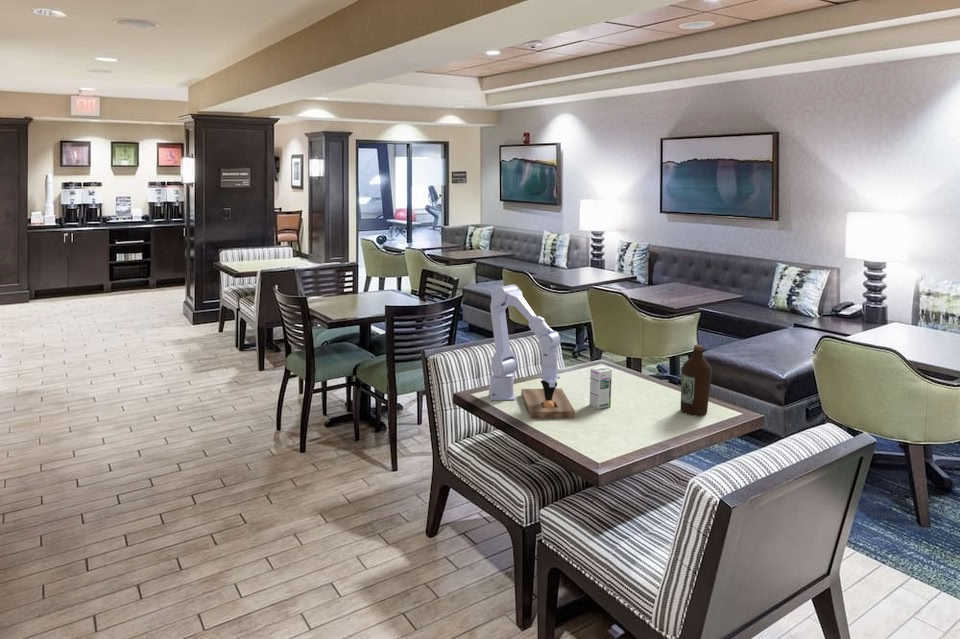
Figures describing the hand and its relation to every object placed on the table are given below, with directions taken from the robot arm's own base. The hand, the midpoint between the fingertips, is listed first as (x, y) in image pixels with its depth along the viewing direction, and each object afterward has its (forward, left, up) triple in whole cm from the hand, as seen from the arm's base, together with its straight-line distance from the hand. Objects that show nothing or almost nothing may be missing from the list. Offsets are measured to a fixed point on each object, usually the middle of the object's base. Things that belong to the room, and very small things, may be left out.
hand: (548, 400), depth 249 cm
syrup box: (+20, +3, -4) cm, 20 cm away
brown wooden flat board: (0, +4, -3) cm, 5 cm away
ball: (0, -2, -2) cm, 2 cm away
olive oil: (+53, -5, -4) cm, 53 cm away
